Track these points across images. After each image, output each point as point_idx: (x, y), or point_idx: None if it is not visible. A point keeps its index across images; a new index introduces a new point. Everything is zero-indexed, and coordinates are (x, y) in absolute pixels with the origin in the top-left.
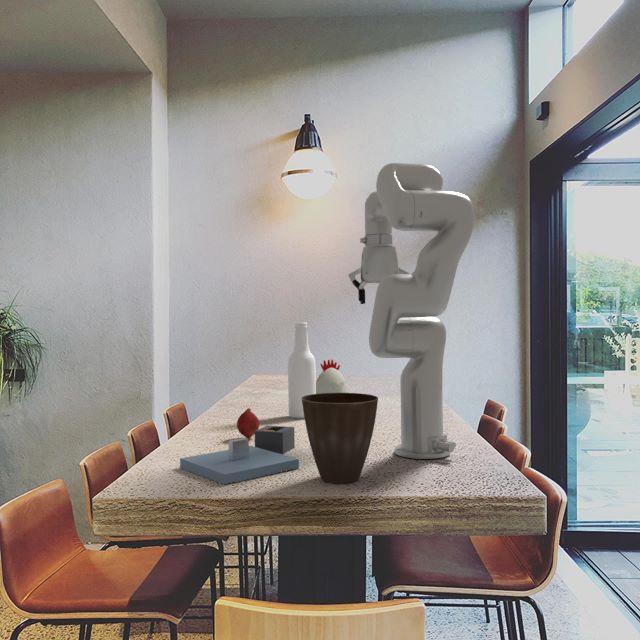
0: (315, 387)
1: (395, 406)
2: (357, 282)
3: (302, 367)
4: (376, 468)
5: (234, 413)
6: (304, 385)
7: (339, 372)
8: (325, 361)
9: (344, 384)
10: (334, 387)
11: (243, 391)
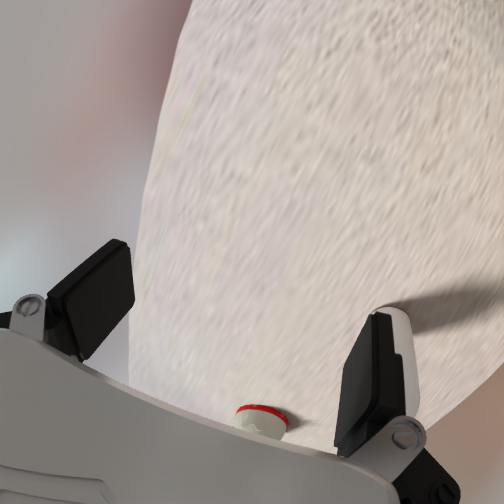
0: None
1: (198, 328)
2: (425, 489)
3: (405, 379)
4: None
5: (450, 381)
6: (399, 348)
7: None
8: None
9: (240, 424)
10: (260, 421)
11: None
